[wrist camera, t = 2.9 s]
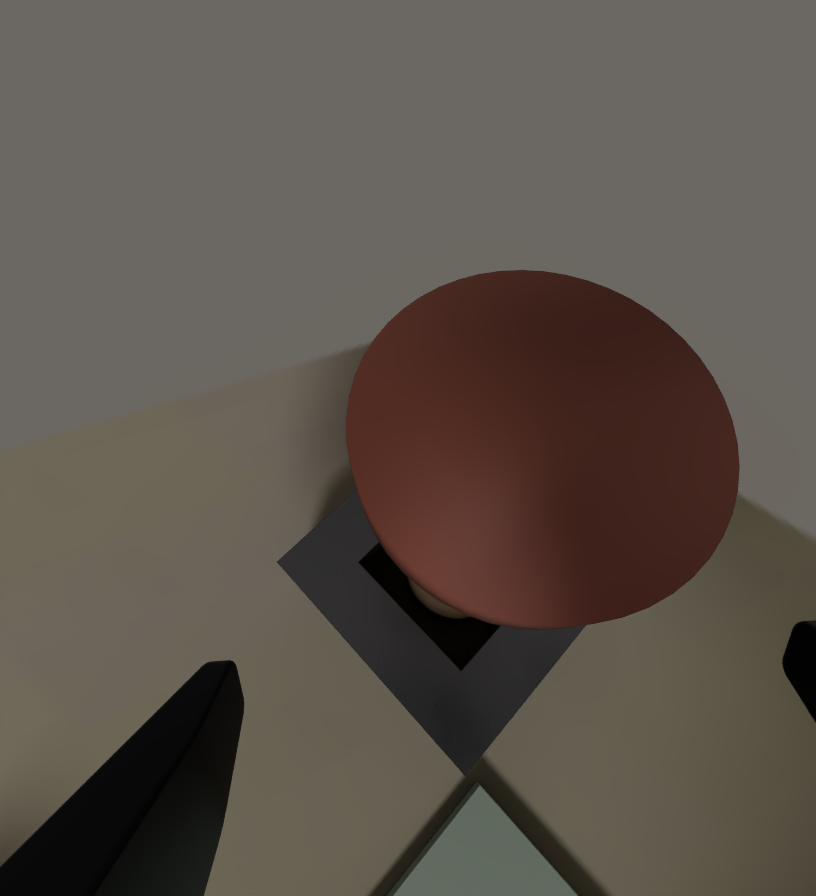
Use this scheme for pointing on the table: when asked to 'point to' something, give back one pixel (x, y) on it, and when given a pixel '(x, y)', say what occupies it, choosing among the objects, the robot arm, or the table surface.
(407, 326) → the walnut peg
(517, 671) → the eye block
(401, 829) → the table surface
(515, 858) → the green pad
